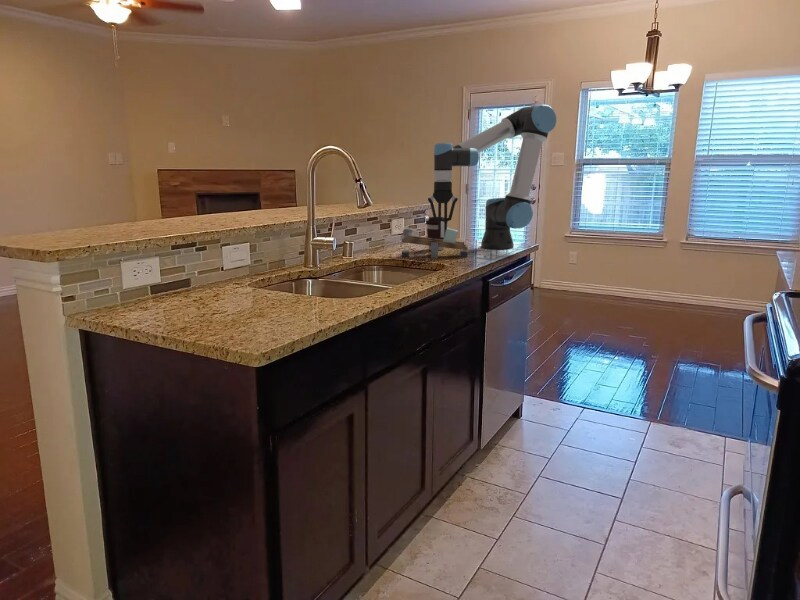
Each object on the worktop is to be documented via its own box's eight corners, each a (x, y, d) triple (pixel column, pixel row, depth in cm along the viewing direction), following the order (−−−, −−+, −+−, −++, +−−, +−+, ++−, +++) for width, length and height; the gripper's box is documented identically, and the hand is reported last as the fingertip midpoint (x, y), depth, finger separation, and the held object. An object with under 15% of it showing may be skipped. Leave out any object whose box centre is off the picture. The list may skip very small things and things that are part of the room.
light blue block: (453, 243, 244) (457, 230, 242) (454, 245, 239) (458, 231, 238) (442, 240, 244) (446, 227, 242) (443, 242, 239) (447, 228, 238)
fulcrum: (466, 254, 248) (466, 238, 247) (467, 258, 237) (467, 242, 235) (403, 254, 250) (402, 238, 248) (401, 258, 238) (401, 242, 237)
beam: (465, 247, 246) (467, 234, 244) (466, 250, 238) (468, 237, 236) (402, 240, 247) (404, 227, 245) (401, 242, 238) (403, 229, 237)
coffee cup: (423, 250, 259) (423, 218, 256) (428, 247, 269) (428, 216, 265) (444, 251, 257) (444, 218, 253) (449, 248, 266) (449, 216, 262)
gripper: (458, 180, 239) (457, 235, 244) (427, 180, 240) (427, 235, 245) (458, 181, 232) (457, 238, 237) (427, 181, 232) (427, 238, 238)
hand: (442, 236), depth 241 cm, fingers closed
